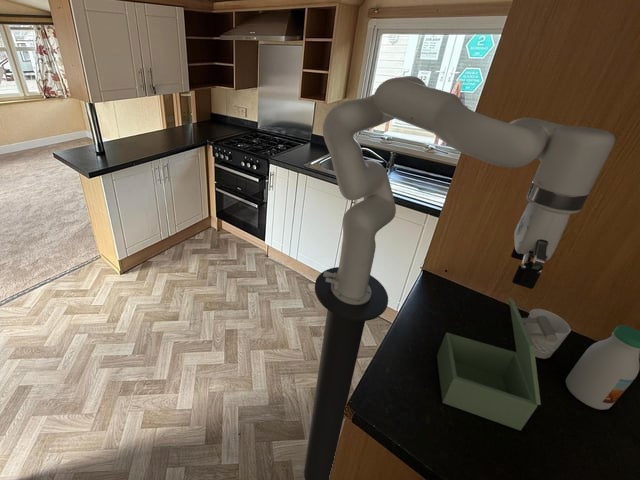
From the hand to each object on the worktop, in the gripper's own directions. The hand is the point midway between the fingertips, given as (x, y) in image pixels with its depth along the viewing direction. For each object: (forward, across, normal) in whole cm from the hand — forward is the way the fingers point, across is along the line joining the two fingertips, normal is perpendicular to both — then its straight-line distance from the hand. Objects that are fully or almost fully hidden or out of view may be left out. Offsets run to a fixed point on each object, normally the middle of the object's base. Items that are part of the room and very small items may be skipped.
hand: (520, 271), depth 63 cm
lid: (+15, +5, +4) cm, 16 cm away
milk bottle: (+32, -9, +22) cm, 39 cm away
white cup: (+32, -17, +12) cm, 38 cm away
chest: (+31, +5, 0) cm, 32 cm away
